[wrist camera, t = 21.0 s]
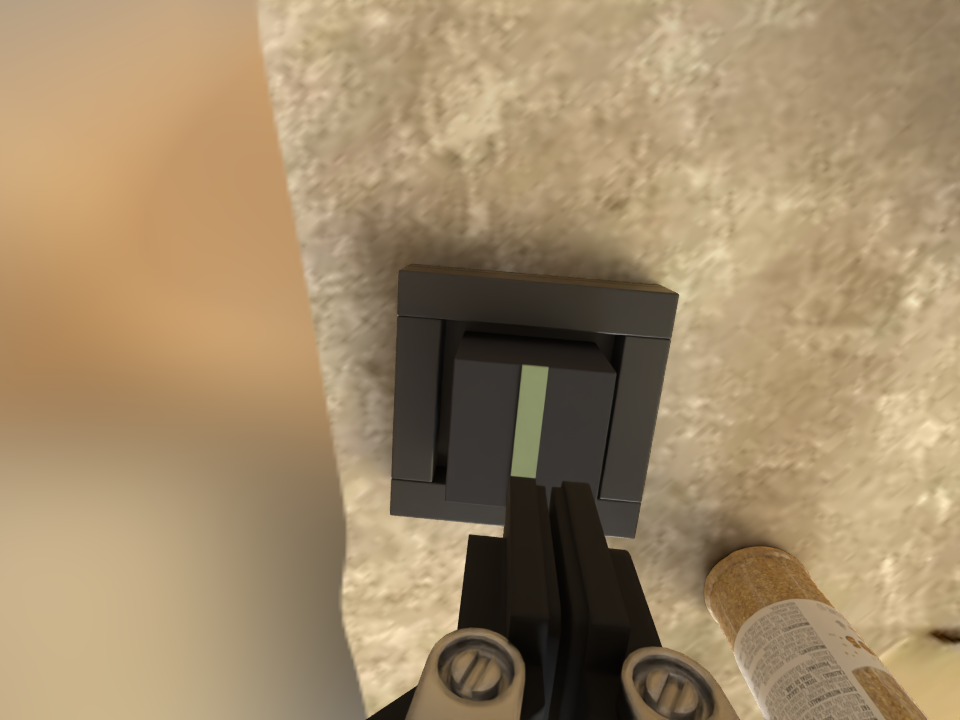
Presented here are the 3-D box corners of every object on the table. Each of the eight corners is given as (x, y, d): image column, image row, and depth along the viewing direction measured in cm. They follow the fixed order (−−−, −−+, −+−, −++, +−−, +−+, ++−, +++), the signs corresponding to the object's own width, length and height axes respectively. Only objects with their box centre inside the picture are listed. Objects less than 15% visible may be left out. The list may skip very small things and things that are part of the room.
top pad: (464, 330, 20) (453, 359, 16) (595, 341, 20) (617, 373, 16) (455, 450, 21) (444, 503, 17) (578, 461, 21) (595, 518, 17)
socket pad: (410, 263, 20) (398, 269, 18) (660, 285, 20) (679, 293, 18) (400, 486, 23) (389, 515, 21) (622, 507, 23) (635, 539, 20)
